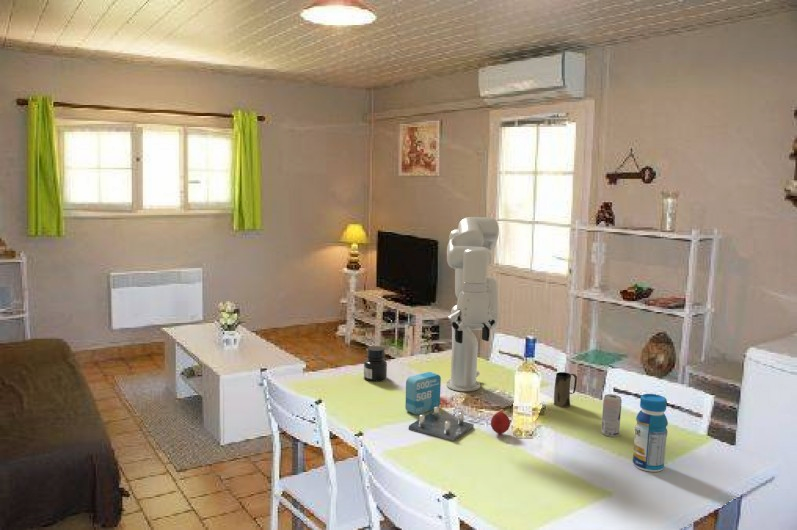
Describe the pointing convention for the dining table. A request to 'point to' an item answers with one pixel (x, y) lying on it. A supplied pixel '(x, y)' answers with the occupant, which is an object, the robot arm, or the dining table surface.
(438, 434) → the grey pegged plate
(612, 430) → the energy drink
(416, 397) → the data package
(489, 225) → the robot arm
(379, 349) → the ink bottle
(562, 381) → the mug
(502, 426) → the onion
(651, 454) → the beverage bottle
